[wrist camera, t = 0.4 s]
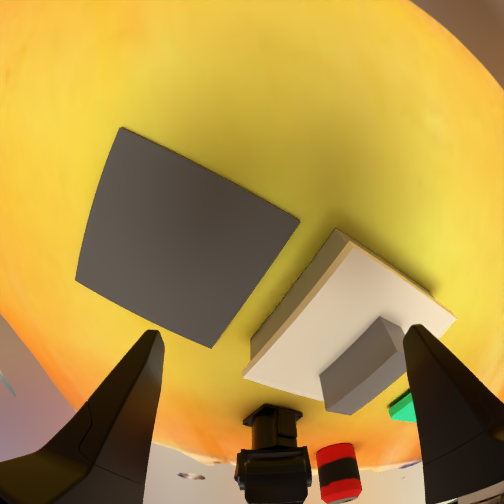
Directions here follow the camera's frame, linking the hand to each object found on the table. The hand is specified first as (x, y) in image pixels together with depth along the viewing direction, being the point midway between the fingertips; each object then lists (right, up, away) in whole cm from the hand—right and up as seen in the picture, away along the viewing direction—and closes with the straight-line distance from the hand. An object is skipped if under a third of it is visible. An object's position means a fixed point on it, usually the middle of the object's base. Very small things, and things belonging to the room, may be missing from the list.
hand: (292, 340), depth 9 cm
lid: (+8, -5, +14) cm, 17 cm away
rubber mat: (-8, +3, +14) cm, 17 cm away
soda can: (+15, -36, +34) cm, 52 cm away
